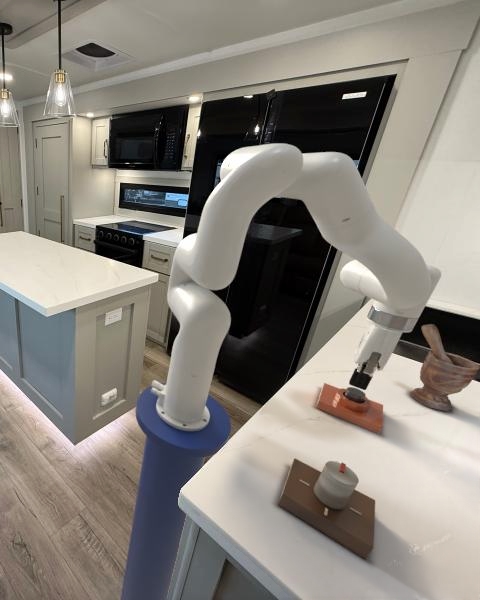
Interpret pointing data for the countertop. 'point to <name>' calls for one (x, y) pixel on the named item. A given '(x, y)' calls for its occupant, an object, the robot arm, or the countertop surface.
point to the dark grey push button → (354, 394)
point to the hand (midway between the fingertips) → (357, 385)
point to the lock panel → (330, 510)
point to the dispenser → (351, 408)
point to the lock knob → (335, 484)
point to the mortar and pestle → (442, 373)
